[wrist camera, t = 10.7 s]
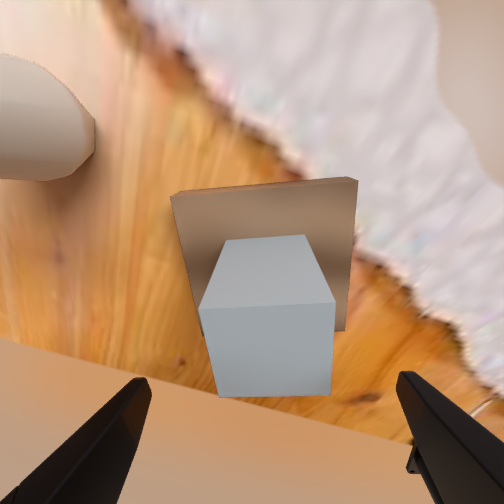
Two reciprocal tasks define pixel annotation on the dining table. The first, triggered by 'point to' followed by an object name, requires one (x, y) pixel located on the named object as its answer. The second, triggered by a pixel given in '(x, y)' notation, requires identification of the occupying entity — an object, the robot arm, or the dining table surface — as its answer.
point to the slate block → (269, 319)
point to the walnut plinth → (270, 227)
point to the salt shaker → (40, 124)
